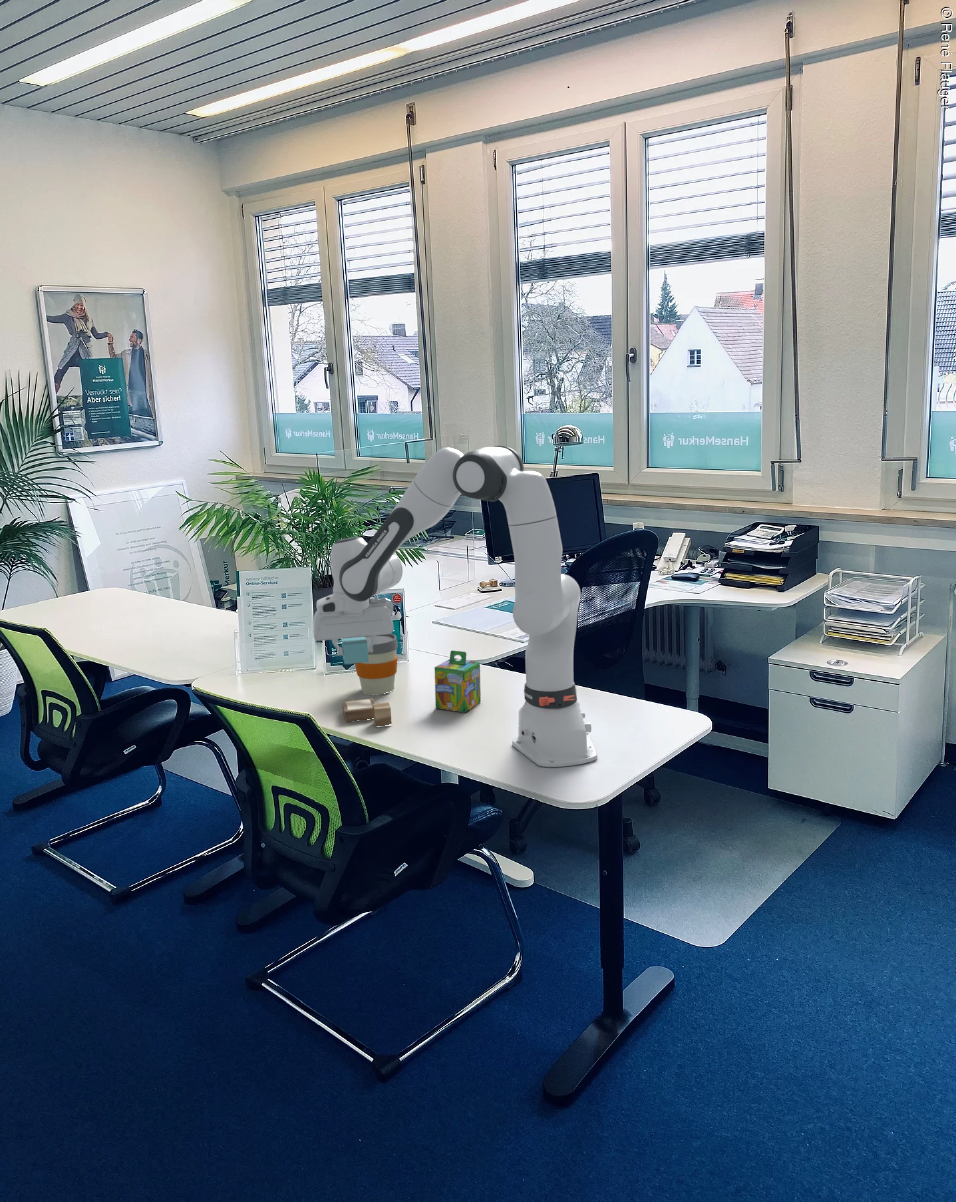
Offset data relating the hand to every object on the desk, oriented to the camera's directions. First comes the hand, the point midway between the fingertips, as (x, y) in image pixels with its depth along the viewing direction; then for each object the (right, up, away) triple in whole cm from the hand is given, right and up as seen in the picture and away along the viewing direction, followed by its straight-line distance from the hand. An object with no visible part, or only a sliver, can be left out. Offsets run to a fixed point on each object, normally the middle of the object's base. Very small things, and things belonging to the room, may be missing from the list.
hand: (355, 653), depth 245 cm
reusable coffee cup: (+3, -12, +23) cm, 26 cm away
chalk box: (+26, -15, +8) cm, 31 cm away
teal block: (0, -2, 0) cm, 2 cm away
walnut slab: (+1, -16, +4) cm, 17 cm away
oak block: (+7, -18, -3) cm, 19 cm away
